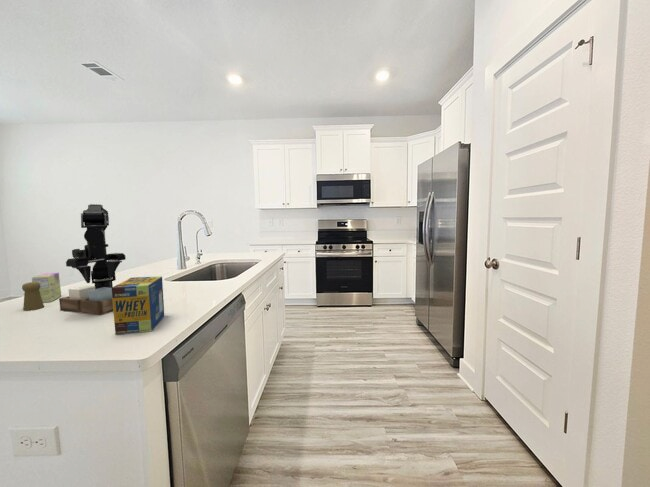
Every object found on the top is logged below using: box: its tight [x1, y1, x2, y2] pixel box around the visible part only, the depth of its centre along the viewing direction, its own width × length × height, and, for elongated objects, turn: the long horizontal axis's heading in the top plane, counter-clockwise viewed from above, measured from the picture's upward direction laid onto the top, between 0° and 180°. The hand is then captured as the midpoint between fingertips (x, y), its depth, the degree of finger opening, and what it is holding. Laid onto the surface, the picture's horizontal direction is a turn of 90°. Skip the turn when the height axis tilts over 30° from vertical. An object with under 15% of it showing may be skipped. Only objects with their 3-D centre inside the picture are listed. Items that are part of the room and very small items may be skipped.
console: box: [58, 295, 113, 316], centre depth 113 cm, size 10×22×5 cm, turn 74°
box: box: [31, 272, 62, 304], centre depth 126 cm, size 10×6×12 cm, turn 25°
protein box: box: [112, 276, 165, 335], centre depth 95 cm, size 10×15×16 cm
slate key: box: [88, 287, 112, 301], centre depth 111 cm, size 6×6×4 cm
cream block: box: [68, 285, 95, 299], centre depth 114 cm, size 6×6×4 cm
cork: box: [21, 281, 45, 312], centre depth 114 cm, size 6×6×11 cm
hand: (99, 280), depth 111 cm, fingers open, 8 cm apart
